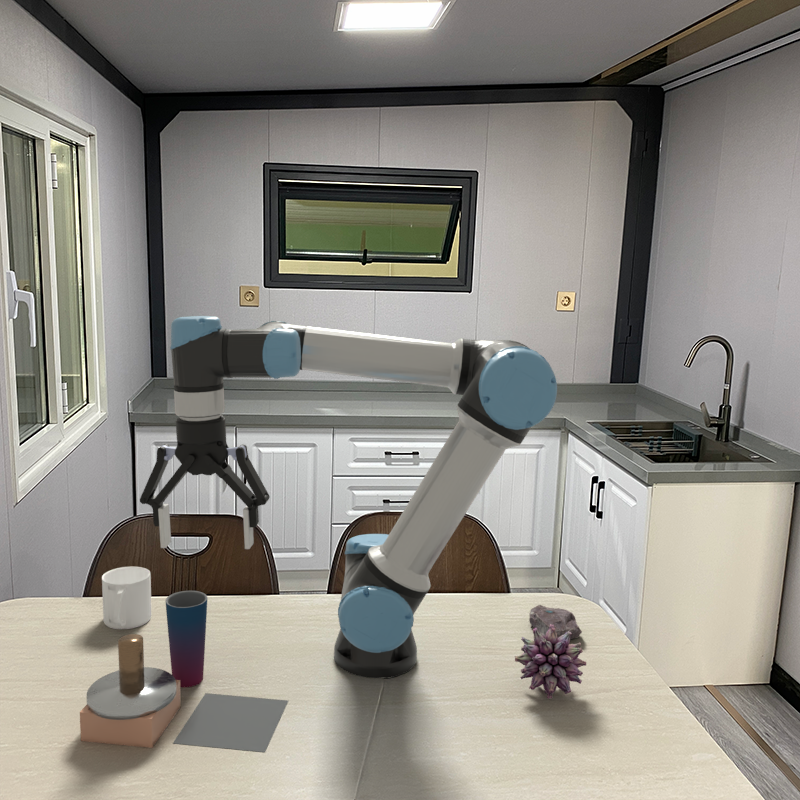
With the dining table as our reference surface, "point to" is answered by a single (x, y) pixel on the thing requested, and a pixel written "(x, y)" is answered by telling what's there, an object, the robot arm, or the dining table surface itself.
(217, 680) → the dining table surface
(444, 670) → the dining table surface
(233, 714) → the mat
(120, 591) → the mug
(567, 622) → the rock
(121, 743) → the dish
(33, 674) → the dining table surface
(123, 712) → the lid
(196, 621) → the cup
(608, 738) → the dining table surface
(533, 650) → the flower
